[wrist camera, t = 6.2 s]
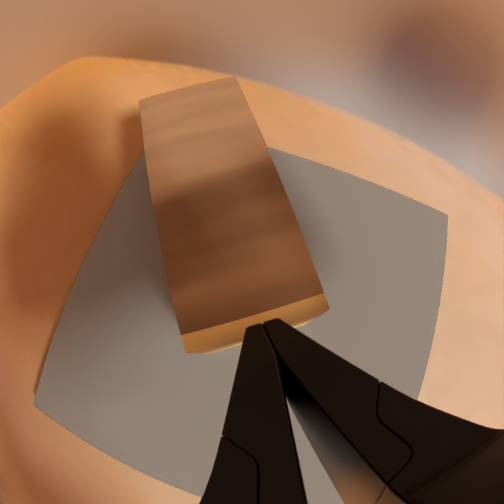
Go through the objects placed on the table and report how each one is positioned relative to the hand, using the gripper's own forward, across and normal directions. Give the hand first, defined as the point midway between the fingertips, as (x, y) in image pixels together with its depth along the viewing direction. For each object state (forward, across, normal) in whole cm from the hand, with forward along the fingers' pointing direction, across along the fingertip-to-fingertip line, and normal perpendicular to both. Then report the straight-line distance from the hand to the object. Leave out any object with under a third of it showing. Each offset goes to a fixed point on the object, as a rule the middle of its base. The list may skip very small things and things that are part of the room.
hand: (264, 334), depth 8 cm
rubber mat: (+7, 0, +5) cm, 8 cm away
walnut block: (+4, 0, +3) cm, 5 cm away
